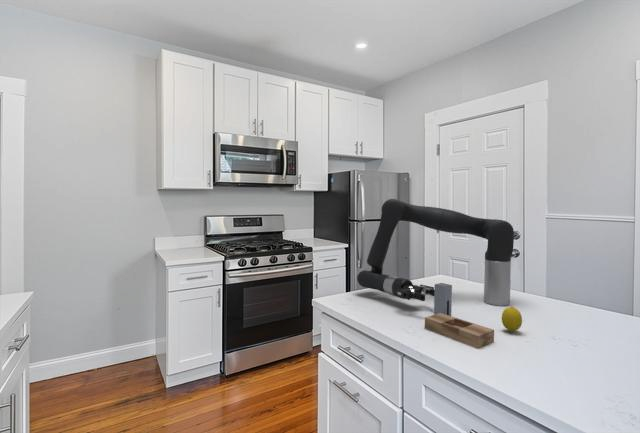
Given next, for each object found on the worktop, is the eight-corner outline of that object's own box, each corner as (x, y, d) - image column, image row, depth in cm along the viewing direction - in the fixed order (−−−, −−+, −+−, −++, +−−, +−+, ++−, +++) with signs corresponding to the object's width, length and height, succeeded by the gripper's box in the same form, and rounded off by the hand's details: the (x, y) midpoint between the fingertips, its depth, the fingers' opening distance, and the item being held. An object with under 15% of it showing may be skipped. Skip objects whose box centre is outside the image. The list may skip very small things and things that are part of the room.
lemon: (524, 336, 103) (525, 309, 102) (504, 334, 104) (505, 308, 103) (517, 329, 108) (518, 304, 108) (498, 328, 109) (499, 303, 109)
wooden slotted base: (440, 323, 113) (440, 312, 113) (493, 341, 98) (494, 329, 98) (424, 328, 108) (424, 317, 108) (478, 348, 94) (478, 335, 94)
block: (441, 316, 120) (441, 282, 119) (451, 319, 116) (451, 285, 116) (433, 318, 117) (434, 284, 117) (444, 322, 114) (444, 286, 114)
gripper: (384, 279, 129) (419, 288, 116) (410, 275, 137) (445, 283, 124) (384, 299, 130) (418, 310, 116) (410, 293, 138) (444, 303, 124)
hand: (432, 296), depth 120 cm, fingers open, 8 cm apart
